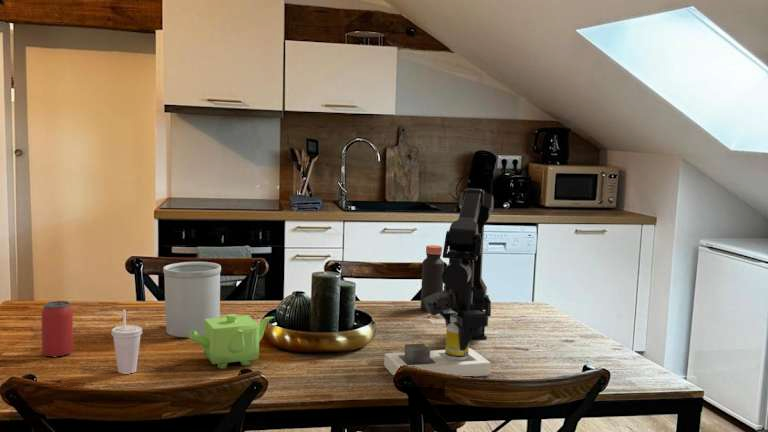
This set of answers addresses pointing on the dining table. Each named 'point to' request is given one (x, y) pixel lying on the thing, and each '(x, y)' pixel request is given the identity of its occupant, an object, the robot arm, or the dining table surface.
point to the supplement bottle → (454, 342)
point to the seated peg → (416, 354)
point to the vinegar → (432, 273)
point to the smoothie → (126, 346)
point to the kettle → (231, 339)
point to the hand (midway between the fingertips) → (457, 346)
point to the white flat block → (444, 363)
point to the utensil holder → (191, 296)
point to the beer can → (57, 328)
